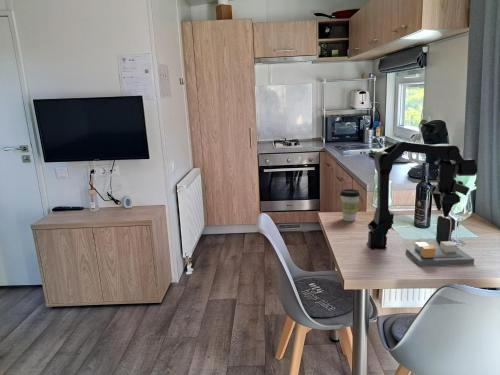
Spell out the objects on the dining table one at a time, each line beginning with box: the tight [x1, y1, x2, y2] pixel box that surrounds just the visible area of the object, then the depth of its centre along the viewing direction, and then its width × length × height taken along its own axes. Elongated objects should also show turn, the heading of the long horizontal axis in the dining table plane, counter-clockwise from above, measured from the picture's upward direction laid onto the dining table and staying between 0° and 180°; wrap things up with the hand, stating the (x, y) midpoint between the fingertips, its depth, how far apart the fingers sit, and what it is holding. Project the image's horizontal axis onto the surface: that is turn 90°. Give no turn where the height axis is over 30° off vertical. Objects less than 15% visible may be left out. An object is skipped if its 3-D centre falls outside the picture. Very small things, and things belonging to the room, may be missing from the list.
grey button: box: [414, 241, 430, 254], centre depth 146 cm, size 4×4×3 cm
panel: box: [405, 246, 475, 267], centre depth 143 cm, size 20×12×2 cm, turn 91°
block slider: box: [420, 244, 435, 258], centre depth 140 cm, size 4×3×4 cm
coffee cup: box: [339, 188, 361, 222], centre depth 191 cm, size 10×10×15 cm
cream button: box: [439, 240, 457, 253], centre depth 146 cm, size 4×4×3 cm
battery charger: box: [435, 214, 456, 242], centre depth 158 cm, size 7×4×11 cm, turn 15°
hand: (442, 213), depth 152 cm, fingers open, 9 cm apart
